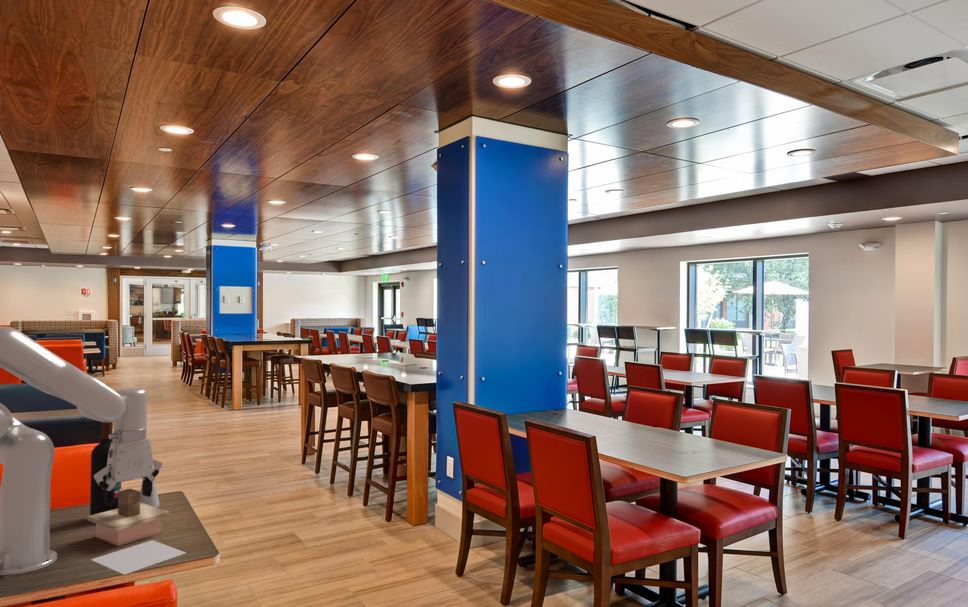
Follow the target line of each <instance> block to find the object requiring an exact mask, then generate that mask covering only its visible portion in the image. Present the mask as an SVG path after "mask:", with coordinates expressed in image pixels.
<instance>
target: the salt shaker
mask: <svg viewBox="0 0 968 607" xmlns="http://www.w3.org/2000/svg"><path fill="white" fill-rule="evenodd" d="M143 480H145V478H144V477H143V478H142V483H141V486H140V487H141V488H140V490H139V491H140V503H144V504H147V505H150V506H153V507H156V508H160V501H159V500H160V499H159V495H158V494H159V493H158V488H157V484H156V479H155V480H154V481H153V482H152V492H151V496H150V497H148V496H144V495H143V494H142V491H143Z"/></svg>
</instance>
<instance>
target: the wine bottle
mask: <svg viewBox="0 0 968 607" xmlns="http://www.w3.org/2000/svg"><path fill="white" fill-rule="evenodd" d="M100 430H101V432H100V433H101V437H100V442H99V443H98V444H97V445H95V446H94V448H93V449H92V450H91V453H90V488H89V489H90V490H89V491H90V493H89V494H90V497H89V498H90V499H89V501H90V505H89V516H91V515H94V514H98V513H102V512H106V511H110V510H114V509H118V492H119V491H121V490H122V482H117V483H116V485H115V486H114V487H113V489H112V490H114V505H113V506H109V505H106V504H105V502H104V489H102V488H101V487H100V486H99V485H98V484H97V482H96V481H95V479H94V477H93V476H94V475H95V474H96V473H98V472H99V471H101V470H102V469H104V468H105V467H107V460H108V454H109V449H110V445H111V442H114V440H113V439H109V434H112V433H113V430H114V422H109V423H105V422H101V429H100ZM103 481H104V482H106V481H107V474H106V475H104V476H103Z"/></svg>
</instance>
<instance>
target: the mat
mask: <svg viewBox="0 0 968 607" xmlns="http://www.w3.org/2000/svg"><path fill="white" fill-rule="evenodd" d="M185 554H187V552H185V551H183V550H180V549H177V548H175V547H173V546H169V545H166V544H164V543H161V542H159V541H155V540H153V539H152V540H149V541H145V542H142V543H140V544H139V543H138V544H136V545H133V546H130V547H127V548H124V549H119V550H117V551H113V552H110V553H107V554H104V555H101V556H100V555H99V556H98V557H94V558H92V559H90V560H91V561H92V562H95V563H97V564H100V565H101V566H103V567H106V568H108V569H110V570H112V571H114V572H117V573H120V574H121V575H124V576H125V575H128V574H130V573H133V572H136V571H139V570H142V569H145V568H147V567H151V566H153V565H157V564H158V563H161V562H165V561H168V560H170V559H173V558H176V557H179V556H182V555H185Z"/></svg>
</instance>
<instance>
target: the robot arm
mask: <svg viewBox="0 0 968 607" xmlns="http://www.w3.org/2000/svg"><path fill="white" fill-rule="evenodd" d="M0 368H1V369H3V370H5V372H6V371H7V372H8V373H10V374H12V375H13V376H15V377H17V378H19V379H20V380H21V381H23V382H24V383H27V385H30V386H31V387H33V388H35V389H37V390H39V391H41V392H42V393H45V394H48V395H51V396H54V397H56V398H59V399H61V400H64V401H66V402H67V403H70V404H72V405H74V406H75V407H76V408H77V412H78V413H79V414H80V415H82V416H83V417H85V418H87V419H90V420H93V421H97V422H101V423H102V422H105V423H109V422H113V433H112V434H109V439H113V442H111V445H110V449H109V454H108V460H107V467H105V468H104V469H102V470H101V471H99V472H98V473H96V474H95V475H94V476H93V477H94V479H95V481H96V482H97V484H98V485H99V486H100V487H101V488H102V489H104V502H105V504H106V505H109V506H113V505H114V490H112V489H113V487H114V486H115V485H116V483H117V482H121V483H123V482H124V483H125V482H129V481H132V480H137V479H142V481H143V491H142V494H143V495H144V496H148V497H150V496H151V492H152V482H153V481H154V480H155V481H156V477H157V476H158V475H159V473H160V470H161V468H162V466H163V462H162V461H158V460H157V459H153V450H152V449H153V448H152V443H151V440H150V438H148V437H147V428H148V427H147V423H148V422H147V418H148V391H147V390H146V389H144V388H141V387H140V388H139V387H128V388H127V387H126V388H121V389H113V388H111V387H110V386H108V385H106V384H105V383H104V382H102V381H100V380H99V379H97V378H95V377H94V376H92V375H90V374H89V373H87V372H85V371H83V370H81V369H80V368H78V367H77V366H75V365H73V364H71V363H70V362H68V361H67V360H64V359H63V358H62V357H60V356H58V355H57V354H55V353H54V352H53V351H50V350H49V349H47V348H46V347H45V346H43V345H42V344H40V343H38V342H37V341H35V340H34V339H32V338H31V337H29V336H28V335H26V334H25V333H23V332H22V331H19V330H18V329H16V328H14V327H10V326H5V325H4V326H3V325H0ZM54 459H55V446H54V444H53V441H52V439H51V438H50V437H49V436H48V434H46V433H45V432H43V431H40V430H37V429H34V428H31V427H29V426H27V425H25V424H24V423H22V422H21V421H20V420H18V419H17V418H15V417H14V416H13V414H12V412H11V411H10V410H9V408H7V406H6V405H4V404H3V403H1V402H0V465H2V466H3V469H2V470H3V471H2V475H1V481H0V482H1V483H0V576H7V575H8V576H9V575H18V574H25V573H29V572H33V571H37V570H40V569H43V568H45V567H47V566H50V565H51V564H53V563H55V562H56V560H57V559H58V552H57V551H55V550H52V549H50V542H51V541H50V539H51V538H50V537H51V536H50V535H51V534H50V532H51V483H52V481H51V479H52V478H51V477H52V470H53V464H54V461H55V460H54ZM106 474H107V481H106V482H104V481H103V476H104V475H106ZM143 477H144V478H145V480H143Z"/></svg>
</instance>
